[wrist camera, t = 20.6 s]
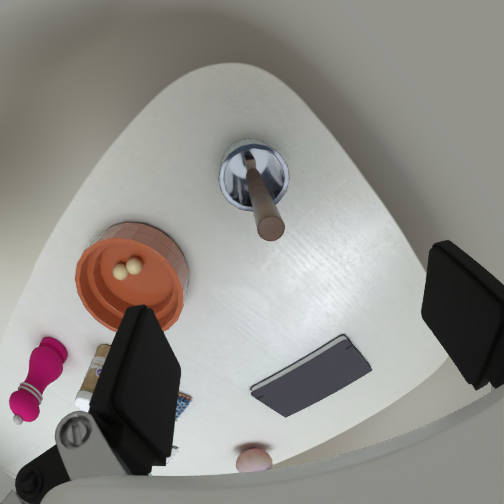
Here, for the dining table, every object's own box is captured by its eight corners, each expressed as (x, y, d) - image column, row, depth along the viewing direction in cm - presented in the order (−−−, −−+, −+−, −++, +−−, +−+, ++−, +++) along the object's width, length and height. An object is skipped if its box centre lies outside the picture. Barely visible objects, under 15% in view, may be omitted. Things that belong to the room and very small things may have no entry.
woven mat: (132, 402, 56) (130, 409, 54) (145, 377, 52) (143, 385, 50) (176, 418, 58) (175, 425, 57) (194, 395, 55) (193, 403, 53)
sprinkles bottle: (121, 349, 49) (101, 406, 36) (117, 363, 50) (99, 419, 38) (98, 339, 48) (73, 395, 35) (96, 355, 49) (73, 408, 37)
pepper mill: (35, 340, 48) (-6, 411, 30) (51, 330, 46) (6, 407, 28) (58, 364, 50) (24, 437, 32) (75, 355, 49) (40, 435, 31)
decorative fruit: (257, 437, 64) (260, 471, 55) (275, 447, 67) (279, 478, 58) (227, 447, 65) (228, 479, 56) (246, 456, 69) (248, 486, 60)
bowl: (77, 234, 39) (58, 252, 34) (170, 209, 39) (160, 225, 33) (114, 318, 46) (104, 341, 40) (201, 304, 45) (197, 329, 40)
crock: (216, 145, 35) (212, 152, 28) (272, 133, 35) (282, 138, 28) (228, 197, 38) (227, 217, 31) (281, 186, 38) (293, 204, 31)
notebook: (284, 412, 59) (370, 365, 54) (285, 417, 58) (372, 370, 53) (248, 387, 54) (343, 332, 50) (248, 393, 53) (346, 338, 48)
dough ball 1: (119, 267, 38) (125, 257, 40) (107, 272, 39) (113, 262, 41) (128, 280, 39) (133, 271, 41) (116, 285, 40) (121, 275, 42)
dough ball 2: (129, 269, 41) (137, 255, 41) (140, 278, 40) (148, 264, 41) (120, 267, 39) (128, 252, 39) (130, 277, 38) (139, 262, 38)
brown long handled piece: (241, 155, 36) (252, 201, 17) (254, 153, 36) (280, 196, 17) (246, 183, 37) (262, 258, 18) (259, 180, 37) (288, 254, 18)
